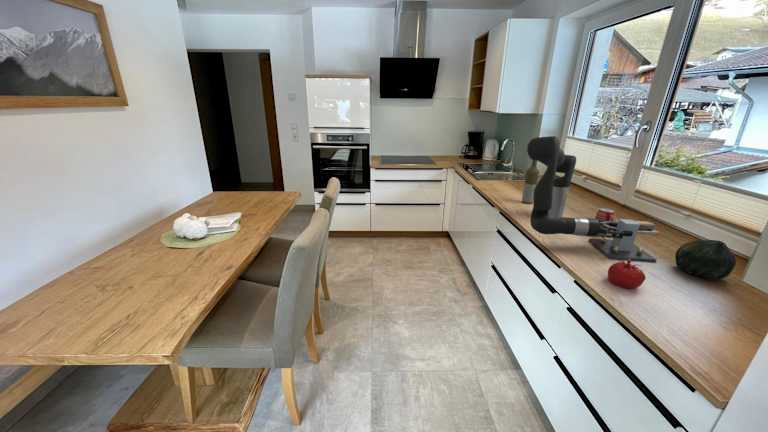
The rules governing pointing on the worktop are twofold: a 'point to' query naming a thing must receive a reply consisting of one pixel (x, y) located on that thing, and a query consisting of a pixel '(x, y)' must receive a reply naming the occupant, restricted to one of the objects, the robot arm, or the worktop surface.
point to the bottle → (530, 183)
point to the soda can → (605, 216)
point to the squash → (706, 259)
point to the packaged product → (644, 227)
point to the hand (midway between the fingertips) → (625, 229)
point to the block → (626, 241)
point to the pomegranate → (626, 274)
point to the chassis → (613, 252)
